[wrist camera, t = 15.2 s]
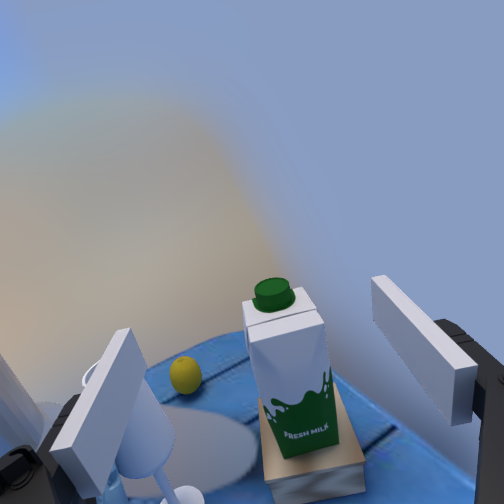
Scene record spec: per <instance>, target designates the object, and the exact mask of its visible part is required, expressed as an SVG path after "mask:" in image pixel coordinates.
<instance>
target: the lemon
mask: <svg viewBox="0 0 504 504" xmlns="http://www.w3.org/2000/svg"><path fill="white" fill-rule="evenodd" d="M201 379H202V374H201V370H200V367H199V365H198V364H197V362H196V361H195V360H194V359H193V358H191V357H187V356H183V357H179V358H177V359H176V360H175V361H174V362H173V363H172V365H171V368H170V380H171V383H172V386H173V387H174V389H175V390H176V391H177V392H179V393H181V394H191V393H193V392H194V391H196V390H197V389H198V387H199V386H200V383H201Z"/></svg>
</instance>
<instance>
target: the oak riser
mask: <svg viewBox="0 0 504 504" xmlns="http://www.w3.org/2000/svg"><path fill="white" fill-rule="evenodd" d="M333 387H334V394H335V403H336V412H337V423H338V433H339V443H340V444H336V445H333V446H329V447H326V448H322V449H319V450H315V451H312V452H308V453H305V454H301V455H297V456H294V457H290V458H287V459H284V458H283V456H282V453H281V451H280V448H279V446H278V444H277V441H276V439H275V436H274V434H273V432H272V429H271V427H270V425H269V423H268V420H267V417H266V415H265V412H264V409H263V405H262V402H261V398H258V407H259V418H260V430H261V442H262V454H263V466H264V477H265V483H266V484H269V485H270V489H271V492H272V495H273V499H274V502H275V504H304V503H309V502H315V501H320V500H325V499H330V498H335V497H341V496H346V495H351V494H356V493H361V492H366V487H365V479H364V470H363V465H366V460H365V458H364V455H363V453H362V450H361V448H360V445H359V443H358V440H357V438H356V435H355V433H354V430H353V427H352V425H351V422H350V420H349V417H348V415H347V412H346V410H345V407H344V405H343V402H342V400H341V397H340V395H339V392H338V390H337V387H336V385H335V382H334V383H333Z"/></svg>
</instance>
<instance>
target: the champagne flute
mask: <svg viewBox="0 0 504 504" xmlns="http://www.w3.org/2000/svg"><path fill="white" fill-rule="evenodd" d="M98 363H99V362H97V363H95V364H94V365H93V366H92V367H91V368H90V369H89V370H88V371H87V372H86V373H85V375H84V377H83V379H82V384H83V387H84V388H85V386H86V384H87V383H88V381H89V379H90V377H91V376H92V374H93V372H94V370H95V368H96V367H97V365H98ZM174 440H175V432H174V428H173V426H172V424H171V422H170V421H169V419H168V417H167V416H166V414H165V413H164V411H163V409H162V407H161V406H160V404H159V402H158V401H157V399H156V397H155V396H154V394H153V392H152V391H151V389H150V387H149V386H148V384H147V382H146V381H145V379H144V377H143V380H142V383H141V386H140V389H139V392H138V395H137V398H136V400H135V403H134V406H133V409H132V412H131V415H130V418H129V421H128V423H127V426H126V429H125V432H124V435H123V438H122V441H121V443H120V446H119V449H118V452H117V455H116V458H115V464H116V466H117V469H118V473H119V474H121V475H122V476H124V477H126V478H130V479H141V478H146V477H148V476H151V475H153V476H154V477H155V479H156V481H157V483H158V485H159V487H160V489H161V491H162V493H163V495H164V497H165V498H164V499H163V500H162V502H161V503H160V504H205V503H204V498H203V496H202V494H201V492H200V491H199V490H198V489H197V488H195V487H192V486H182V487H179V488H176V489H175V490H173V488H172V486H171V484H170V482H169V480H168V478H167V476H166V474H165V472H164V470H163V468H162V467H163V465H164V464H165V463H166V461H167V460H168V458H169V456H170V454H171V451H172V449H173V445H174Z"/></svg>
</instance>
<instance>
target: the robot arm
mask: <svg viewBox="0 0 504 504" xmlns="http://www.w3.org/2000/svg"><path fill="white" fill-rule="evenodd" d="M371 292H372V310H373V321H374V322H375V323H376V325H377V326H378V327H379V329H380V330H381V332H382V333H383V334H384V336H385V337H386V339H387V340H388V341H389V342H390V344H391V345H392V347H393V348H394V349H395V351H396V352H397V354H398V355H399V356H400V358H401V359H402V360H403V362H404V363H405V365H406V366H407V367H408V369H409V370H410V371H411V373H412V374H413V375H414V377H415V378H416V379H417V381H418V382H419V384H420V385H421V386H422V388H423V389H424V390H425V392H426V393H427V394H428V396H429V397H430V399H431V400H432V401H433V403H434V404H435V405H436V407H437V408H438V410H439V411H440V412H441V414H442V415H443V417H444V418H445V419H446V421H447V422H448V423H449V425H450V426H455V425H460V424H465V423H470V422H472V414H473V411H474V413H475V414H476V415H477V416H478V417H479V418H480V420H481V427H480V435H479V453H478V465H477V477H476V489H475V501H474V504H504V366H503V365H502V364H501V363H500V362H499V361H497V360H496V359H495V358H494V357H493V356H492V355H491V354H490V353H488V352H487V351H486V350H485V349H484V348H483V347H482V346H481V345H479V344H478V343H477V342H476V341H474V339H473V338H471V337H470V336H469V335H467V334H466V332H465V331H464V330H462V329H461V328H460V327H459V326H458V325H456V324H454V323H452V322H450V321H448V320H446V319H440V320H436V321H432V320H431V319H430V318H429V317H428V316H427V315H426V314H425V313H424V312H423V311H422V310H421V309H420V308H419V307H418V306H417V305H416V304H415V303H414V302H413V301H411V299H409V298H408V297H407V296H406V295H405V294H404V293H403V292H402V291H401V290H400V289H399V288H398V287H397V286H396V285H395V284H394V283H393V282H392V281H391V280H390V279H389V278H388V277H387V276H385V275H381V276H377V277H371ZM146 369H147V364H146V362H145V360H144V358H143V355H142V353H141V351H140V349H139V346H138V344H137V342H136V339H135V337H134V335H133V333H132V330H131V328H126V329H121V330H117V331H116V333H115V334H114V336H113V338H112V340H111V342H110V343H109V345H108V347H107V349H106V350H105V353H104V354H103V356H102V358H101V359H100V361H99V363H98V365H97V367H96V368H95V370H94V372H93V374H92V376H91V377H90V379H89V381H88V383H87V384H86V386H85V388H84V390H83V392H82V393H81V394H78V395H74V396H73V397H72V398H71V399H70V400H69V401H68V402H67V403H66V404H65V405H64V406H62V405H60V404H56V403H52V402H37V403H34V401H33V400H32V398H31V397H30V396H29V394H28V393H27V391H26V390H25V388H24V387H23V386H22V385H21V383H20V381H19V380H18V378H17V377H16V376H15V374H14V373H13V371H12V370H11V368H10V367H9V366H8V364H7V363H6V361H5V360H4V359H3V357H2V356H1V354H0V504H129V502H128V499H127V496H126V493H125V490H124V487H123V484H122V481H121V479H120V476H119V473H118V469H117V466H116V464H115V458H116V455H117V452H118V449H119V446H120V443H121V441H122V438H123V435H124V432H125V429H126V426H127V423H128V421H129V418H130V415H131V412H132V409H133V406H134V403H135V400H136V398H137V395H138V392H139V389H140V386H141V383H142V380H143V377H144V375H145V372H146Z"/></svg>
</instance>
